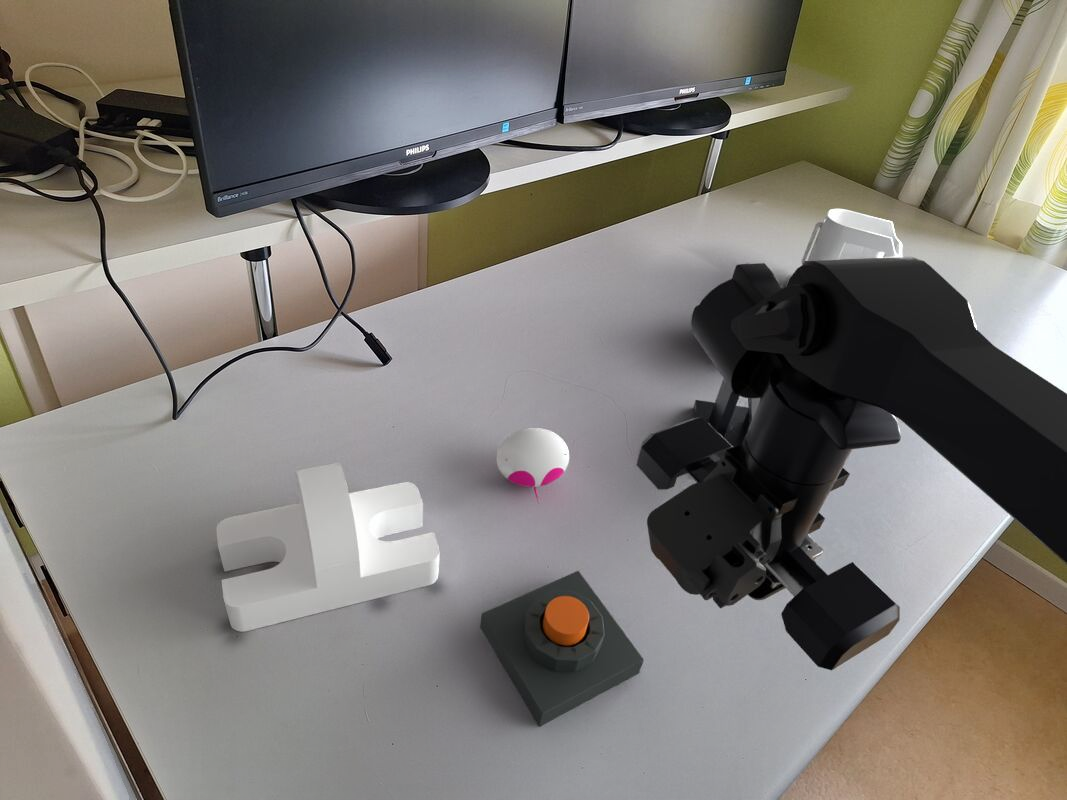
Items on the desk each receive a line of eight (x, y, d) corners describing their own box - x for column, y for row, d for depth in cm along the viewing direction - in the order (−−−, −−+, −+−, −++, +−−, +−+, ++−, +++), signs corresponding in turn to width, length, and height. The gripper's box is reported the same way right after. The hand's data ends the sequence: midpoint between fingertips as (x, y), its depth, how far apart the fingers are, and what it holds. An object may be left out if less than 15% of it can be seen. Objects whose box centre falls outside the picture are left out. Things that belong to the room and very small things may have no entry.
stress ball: (497, 512, 80) (505, 505, 74) (489, 438, 82) (497, 425, 76) (566, 505, 82) (580, 498, 75) (557, 433, 83) (570, 419, 77)
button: (594, 635, 63) (597, 623, 61) (557, 653, 61) (560, 641, 60) (570, 601, 65) (573, 589, 64) (534, 618, 63) (537, 606, 62)
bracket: (769, 475, 84) (803, 403, 77) (698, 465, 84) (725, 391, 77) (758, 416, 92) (787, 345, 85) (692, 406, 92) (716, 334, 85)
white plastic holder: (874, 314, 113) (909, 243, 105) (791, 290, 115) (819, 219, 108) (875, 293, 118) (909, 223, 110) (795, 271, 120) (823, 201, 113)
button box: (639, 673, 64) (649, 647, 62) (539, 727, 60) (545, 702, 57) (574, 584, 71) (581, 557, 68) (479, 627, 66) (482, 600, 63)
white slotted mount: (441, 582, 69) (445, 503, 62) (231, 635, 63) (209, 554, 56) (414, 504, 76) (415, 425, 69) (221, 545, 69) (201, 463, 62)
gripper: (593, 390, 47) (559, 548, 57) (816, 629, 36) (724, 773, 46) (726, 348, 52) (673, 500, 62) (959, 545, 41) (848, 692, 51)
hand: (721, 602), depth 55 cm, fingers closed
